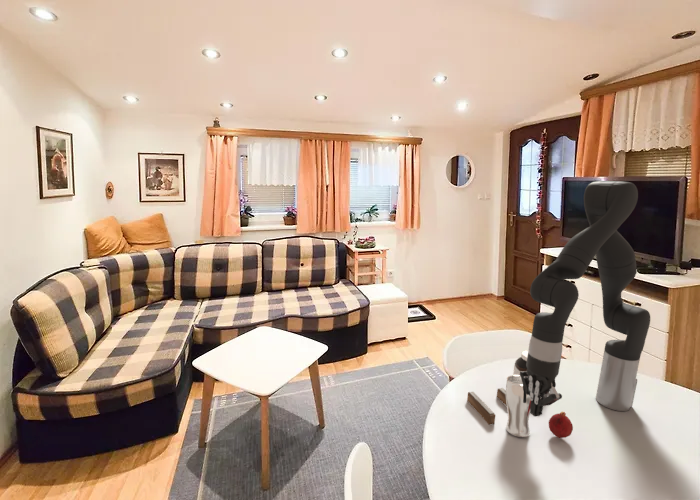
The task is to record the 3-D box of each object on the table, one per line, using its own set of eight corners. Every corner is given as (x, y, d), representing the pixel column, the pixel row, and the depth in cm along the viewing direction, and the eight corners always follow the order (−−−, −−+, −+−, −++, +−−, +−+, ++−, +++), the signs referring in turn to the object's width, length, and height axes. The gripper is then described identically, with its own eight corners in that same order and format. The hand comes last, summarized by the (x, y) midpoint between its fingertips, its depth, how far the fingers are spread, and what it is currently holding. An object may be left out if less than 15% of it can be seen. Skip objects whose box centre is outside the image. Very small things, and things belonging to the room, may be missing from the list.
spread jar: (539, 381, 136) (544, 351, 133) (551, 400, 125) (556, 367, 122) (504, 377, 137) (508, 347, 135) (512, 395, 126) (517, 363, 124)
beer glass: (533, 439, 104) (535, 386, 103) (506, 436, 106) (508, 384, 104) (528, 425, 111) (530, 376, 110) (502, 422, 113) (504, 373, 111)
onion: (561, 447, 103) (566, 421, 101) (542, 434, 108) (546, 409, 106) (574, 441, 106) (579, 415, 104) (555, 428, 111) (559, 403, 109)
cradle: (501, 396, 126) (502, 387, 125) (526, 419, 114) (527, 409, 114) (467, 400, 123) (468, 391, 122) (488, 424, 111) (490, 414, 111)
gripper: (577, 365, 93) (566, 428, 96) (538, 341, 105) (529, 398, 108) (551, 367, 91) (541, 432, 94) (514, 343, 103) (506, 401, 106)
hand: (535, 414), depth 101 cm, fingers closed
